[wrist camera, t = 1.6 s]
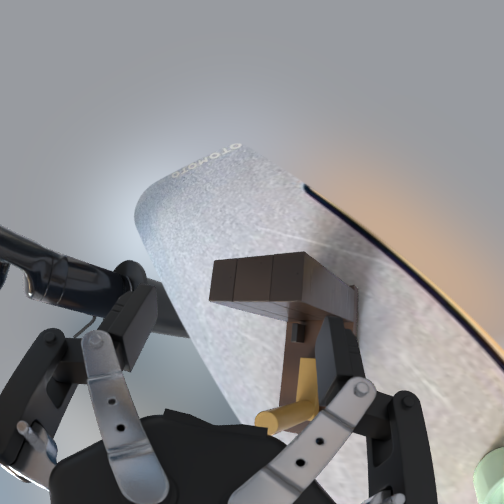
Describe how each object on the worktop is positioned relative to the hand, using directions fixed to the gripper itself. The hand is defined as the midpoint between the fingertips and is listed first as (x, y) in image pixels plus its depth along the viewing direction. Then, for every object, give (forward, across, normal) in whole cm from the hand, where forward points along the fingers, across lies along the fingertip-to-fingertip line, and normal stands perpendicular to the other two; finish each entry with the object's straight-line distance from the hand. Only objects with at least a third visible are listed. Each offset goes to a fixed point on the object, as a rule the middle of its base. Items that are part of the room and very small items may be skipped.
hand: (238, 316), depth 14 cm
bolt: (+7, +8, -13) cm, 17 cm away
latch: (+9, +8, -13) cm, 18 cm away
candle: (-6, +26, -12) cm, 29 cm away
